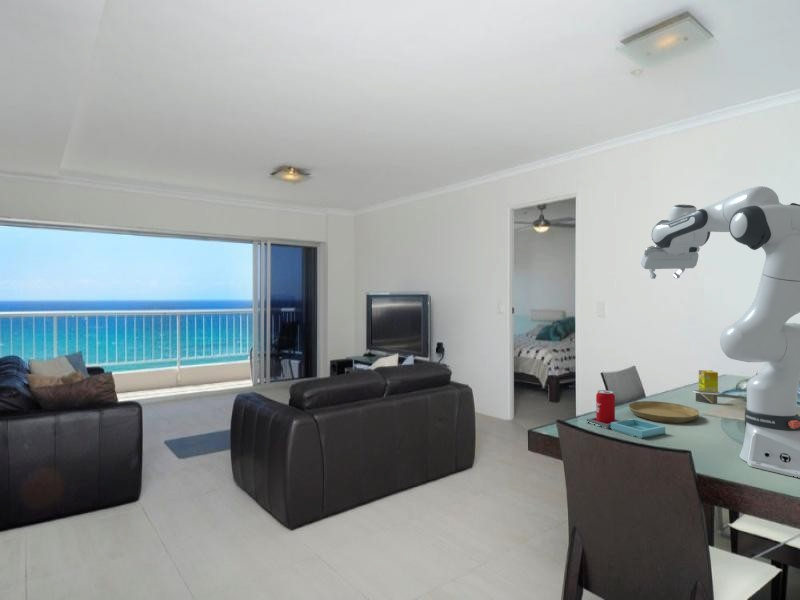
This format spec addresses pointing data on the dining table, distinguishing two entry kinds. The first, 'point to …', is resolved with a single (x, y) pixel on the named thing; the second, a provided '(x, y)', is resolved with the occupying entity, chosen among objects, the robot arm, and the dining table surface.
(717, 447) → the dining table surface
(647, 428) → the tray
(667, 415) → the plant saucer
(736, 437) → the dining table surface
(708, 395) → the platform
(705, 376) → the supplement box
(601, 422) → the socket
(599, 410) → the beverage can
